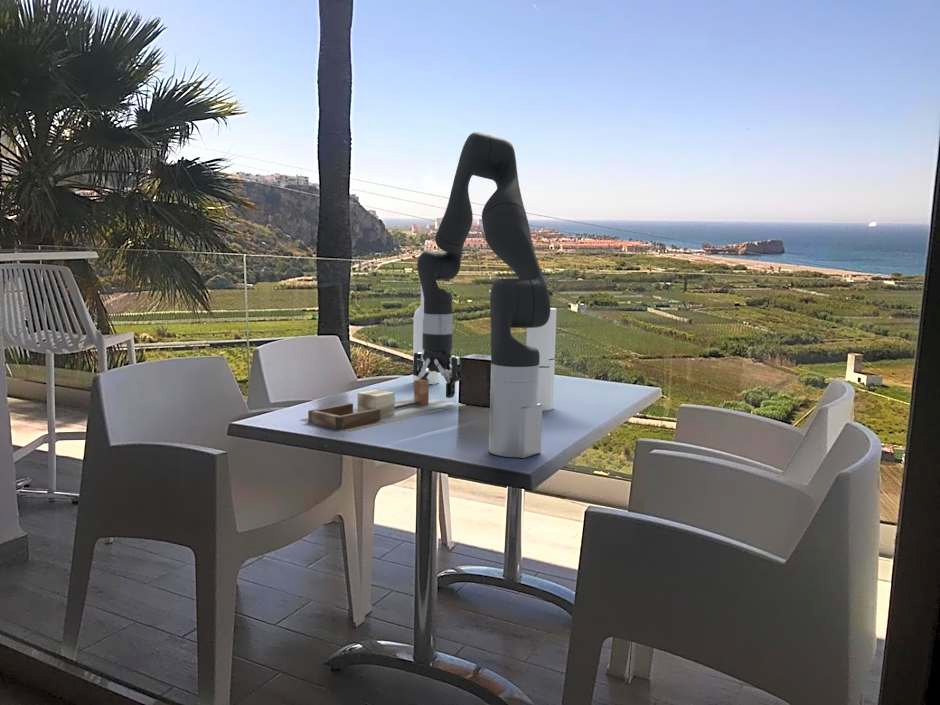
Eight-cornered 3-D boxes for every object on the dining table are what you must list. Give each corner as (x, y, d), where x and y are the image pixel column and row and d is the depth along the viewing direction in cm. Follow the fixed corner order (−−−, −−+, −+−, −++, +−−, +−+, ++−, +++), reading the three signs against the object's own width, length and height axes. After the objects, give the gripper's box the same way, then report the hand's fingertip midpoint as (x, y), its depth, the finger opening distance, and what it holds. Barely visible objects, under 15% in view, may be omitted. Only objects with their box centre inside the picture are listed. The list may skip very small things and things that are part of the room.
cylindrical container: (558, 408, 187) (562, 308, 184) (540, 411, 182) (543, 309, 179) (537, 403, 192) (540, 307, 189) (518, 407, 187) (521, 307, 184)
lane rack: (466, 407, 185) (466, 394, 185) (349, 435, 155) (349, 419, 154) (418, 399, 195) (418, 387, 195) (299, 423, 165) (299, 408, 164)
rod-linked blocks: (433, 405, 184) (434, 381, 183) (376, 418, 168) (376, 391, 167) (415, 402, 187) (415, 378, 186) (357, 414, 171) (357, 388, 171)
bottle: (416, 380, 226) (417, 280, 222) (441, 381, 224) (443, 281, 221) (409, 384, 218) (410, 281, 214) (436, 385, 217) (437, 282, 213)
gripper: (469, 332, 185) (467, 397, 187) (426, 328, 193) (425, 390, 195) (449, 334, 179) (448, 401, 181) (406, 330, 188) (405, 393, 190)
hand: (436, 395), depth 188 cm, fingers open, 8 cm apart
